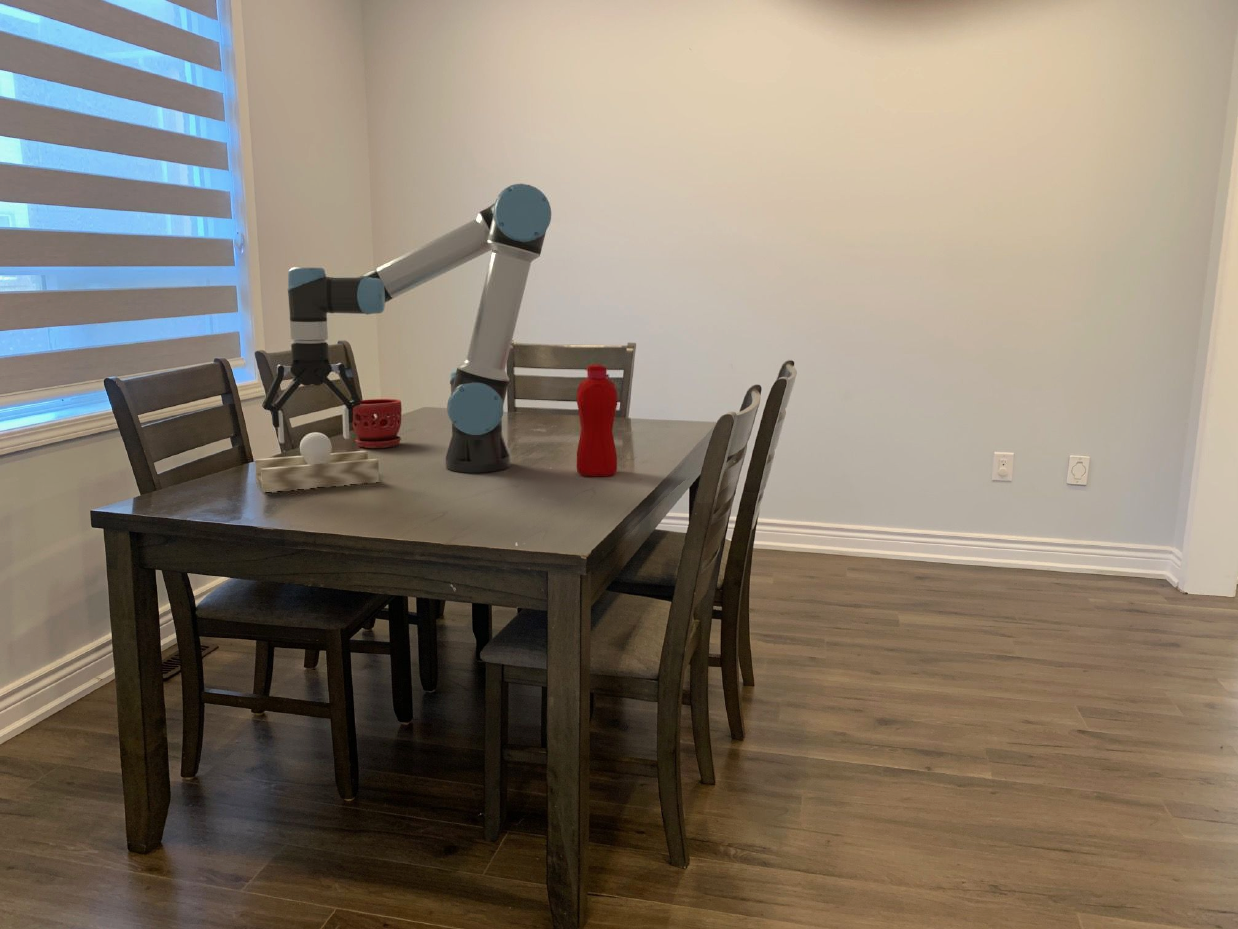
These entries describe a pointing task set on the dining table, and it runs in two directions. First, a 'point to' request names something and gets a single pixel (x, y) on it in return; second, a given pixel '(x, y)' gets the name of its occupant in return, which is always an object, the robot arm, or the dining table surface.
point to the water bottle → (597, 423)
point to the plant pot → (377, 423)
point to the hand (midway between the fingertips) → (314, 440)
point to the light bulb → (315, 448)
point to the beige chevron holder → (315, 472)
